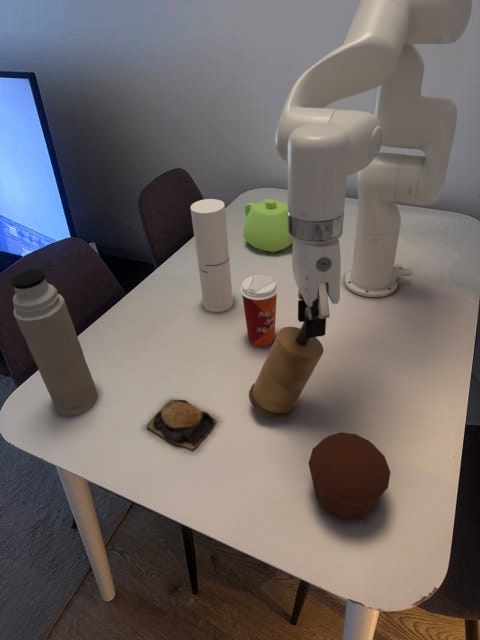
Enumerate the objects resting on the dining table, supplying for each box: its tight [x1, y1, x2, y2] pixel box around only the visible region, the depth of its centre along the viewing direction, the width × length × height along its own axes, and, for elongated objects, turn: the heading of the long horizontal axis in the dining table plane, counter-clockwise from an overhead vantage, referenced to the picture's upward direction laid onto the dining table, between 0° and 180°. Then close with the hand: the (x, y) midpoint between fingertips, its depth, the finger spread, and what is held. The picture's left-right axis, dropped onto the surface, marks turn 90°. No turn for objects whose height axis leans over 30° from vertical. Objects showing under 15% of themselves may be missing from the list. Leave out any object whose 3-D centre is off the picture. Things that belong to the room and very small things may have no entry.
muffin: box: [308, 432, 391, 521], centre depth 66 cm, size 12×11×10 cm
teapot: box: [242, 198, 293, 253], centre depth 129 cm, size 22×15×13 cm
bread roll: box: [146, 399, 217, 451], centre depth 81 cm, size 11×8×4 cm
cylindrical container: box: [190, 198, 234, 313], centre depth 104 cm, size 7×7×25 cm
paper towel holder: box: [248, 305, 324, 420], centre depth 77 cm, size 9×9×22 cm
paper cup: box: [239, 274, 279, 347], centre depth 96 cm, size 8×8×14 cm
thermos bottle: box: [11, 268, 99, 416], centre depth 80 cm, size 8×8×28 cm
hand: (311, 326), depth 74 cm, fingers closed on paper towel holder, 3 cm apart
